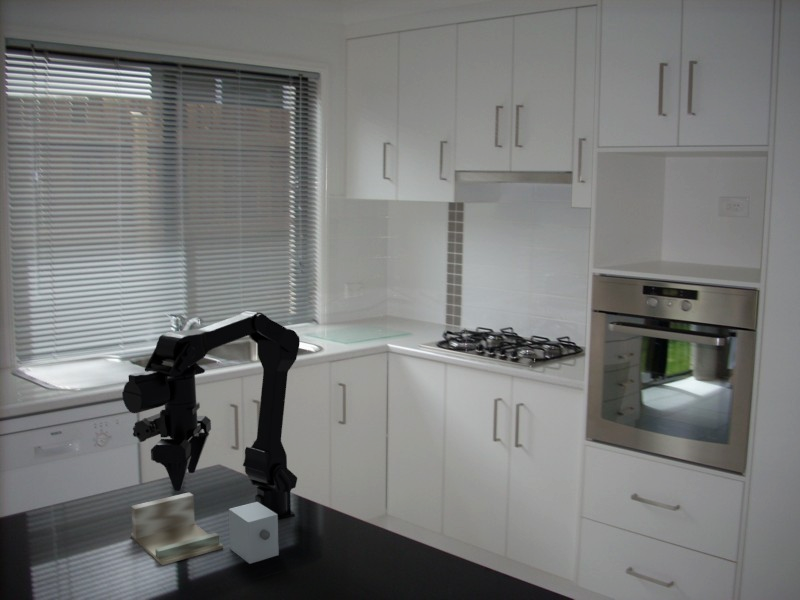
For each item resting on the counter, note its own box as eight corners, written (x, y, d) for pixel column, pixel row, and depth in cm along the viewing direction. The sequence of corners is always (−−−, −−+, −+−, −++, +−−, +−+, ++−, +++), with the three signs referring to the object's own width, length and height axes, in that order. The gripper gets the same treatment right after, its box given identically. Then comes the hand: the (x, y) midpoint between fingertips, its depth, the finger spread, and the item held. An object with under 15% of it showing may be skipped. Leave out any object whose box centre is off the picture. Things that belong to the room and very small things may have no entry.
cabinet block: (258, 541, 166) (257, 501, 165) (281, 557, 159) (280, 516, 158) (230, 549, 162) (228, 508, 161) (252, 566, 155) (250, 524, 154)
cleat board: (188, 521, 175) (187, 490, 174) (222, 548, 163) (221, 515, 162) (130, 536, 168) (129, 504, 167) (162, 565, 155) (160, 530, 154)
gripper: (153, 387, 167) (157, 464, 170) (119, 415, 149) (124, 500, 151) (209, 387, 167) (213, 464, 169) (182, 415, 148) (187, 500, 151)
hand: (184, 481), depth 160 cm, fingers open, 9 cm apart
